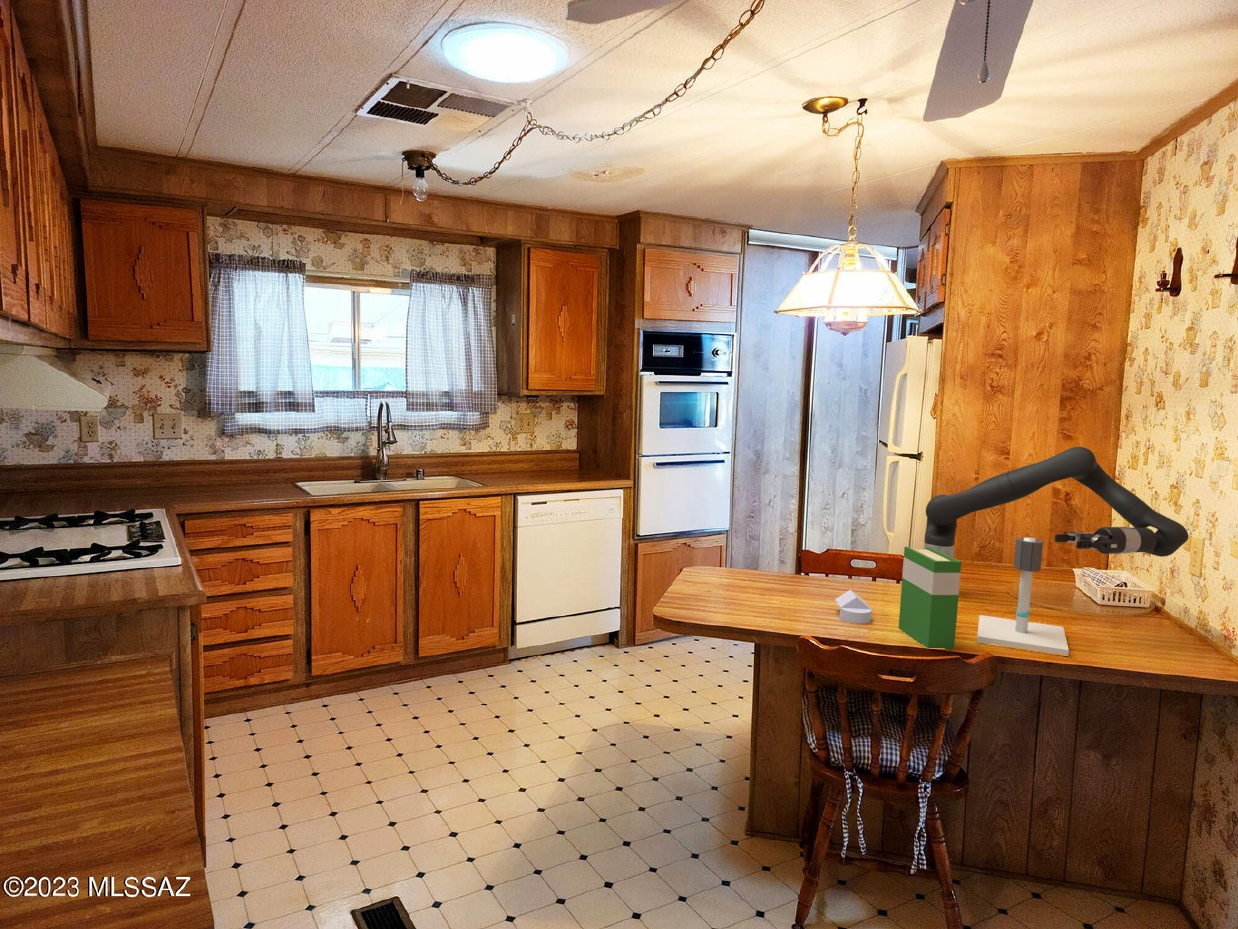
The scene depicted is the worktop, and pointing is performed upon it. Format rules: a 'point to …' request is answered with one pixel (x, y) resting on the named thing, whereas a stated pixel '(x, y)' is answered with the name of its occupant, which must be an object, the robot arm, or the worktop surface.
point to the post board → (1022, 639)
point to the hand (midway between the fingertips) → (1066, 541)
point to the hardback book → (930, 597)
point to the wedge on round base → (853, 608)
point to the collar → (1028, 555)
